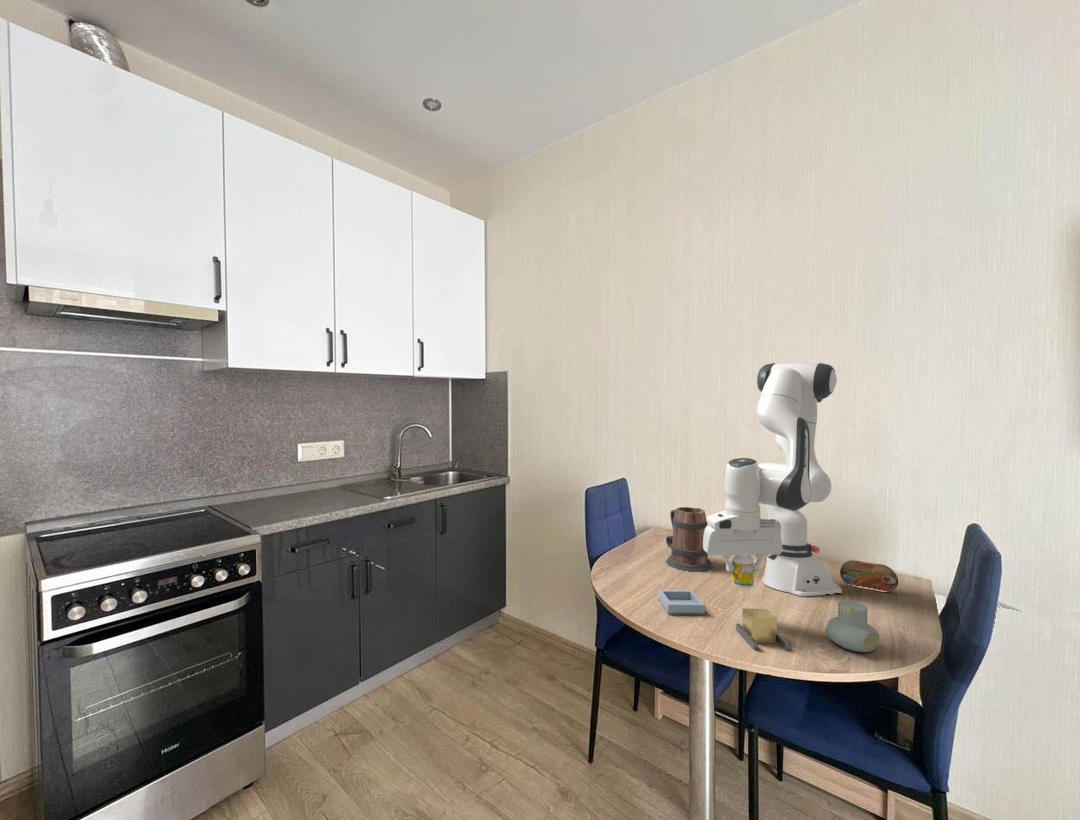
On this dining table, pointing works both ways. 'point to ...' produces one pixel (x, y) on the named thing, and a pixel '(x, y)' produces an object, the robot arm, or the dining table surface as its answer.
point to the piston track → (753, 643)
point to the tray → (681, 602)
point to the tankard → (688, 540)
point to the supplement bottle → (743, 571)
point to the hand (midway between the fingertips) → (742, 570)
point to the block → (760, 624)
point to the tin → (869, 575)
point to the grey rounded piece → (852, 627)
